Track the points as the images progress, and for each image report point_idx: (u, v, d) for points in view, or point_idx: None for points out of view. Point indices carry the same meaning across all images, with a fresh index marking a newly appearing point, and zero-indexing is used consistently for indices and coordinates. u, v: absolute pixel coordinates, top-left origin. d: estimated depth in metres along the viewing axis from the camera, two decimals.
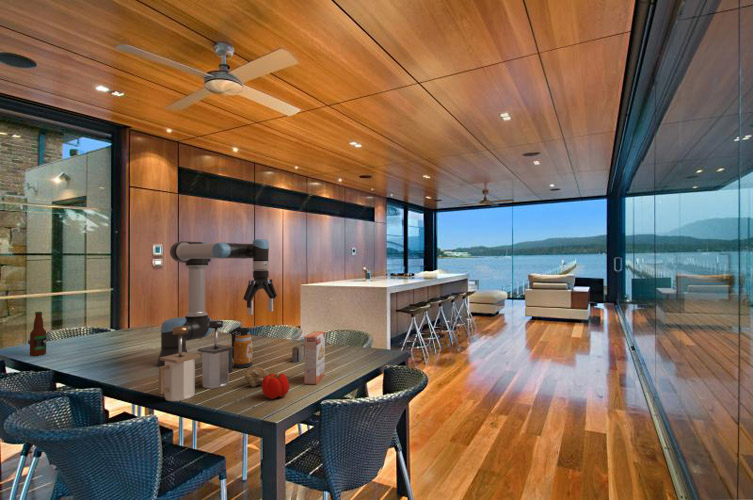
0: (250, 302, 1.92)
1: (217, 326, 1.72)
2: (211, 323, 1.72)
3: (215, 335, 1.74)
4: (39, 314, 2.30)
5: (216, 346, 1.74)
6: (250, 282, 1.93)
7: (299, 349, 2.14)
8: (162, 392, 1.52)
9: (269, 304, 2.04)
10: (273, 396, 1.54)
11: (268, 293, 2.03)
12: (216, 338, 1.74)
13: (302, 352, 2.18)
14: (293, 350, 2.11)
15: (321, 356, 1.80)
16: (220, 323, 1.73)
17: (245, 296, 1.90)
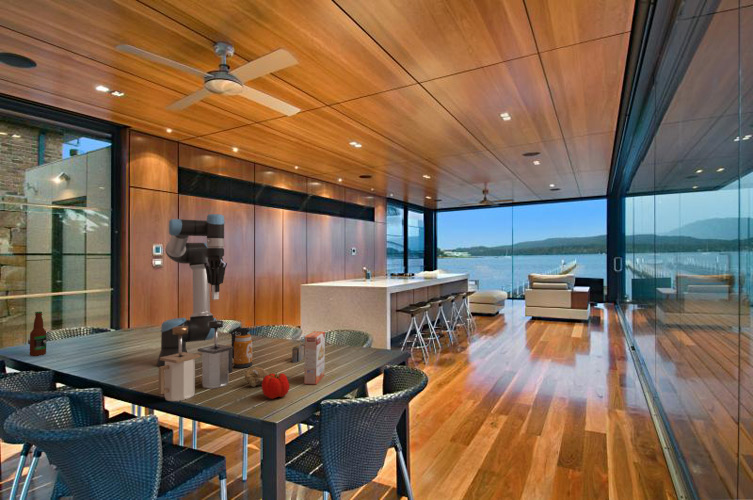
0: None
1: (217, 326, 1.72)
2: (211, 323, 1.72)
3: (215, 335, 1.74)
4: (39, 314, 2.30)
5: (216, 346, 1.74)
6: None
7: (299, 349, 2.14)
8: (162, 392, 1.52)
9: None
10: (273, 396, 1.54)
11: None
12: (216, 338, 1.74)
13: (302, 352, 2.17)
14: (293, 350, 2.11)
15: (321, 356, 1.80)
16: (220, 323, 1.73)
17: None
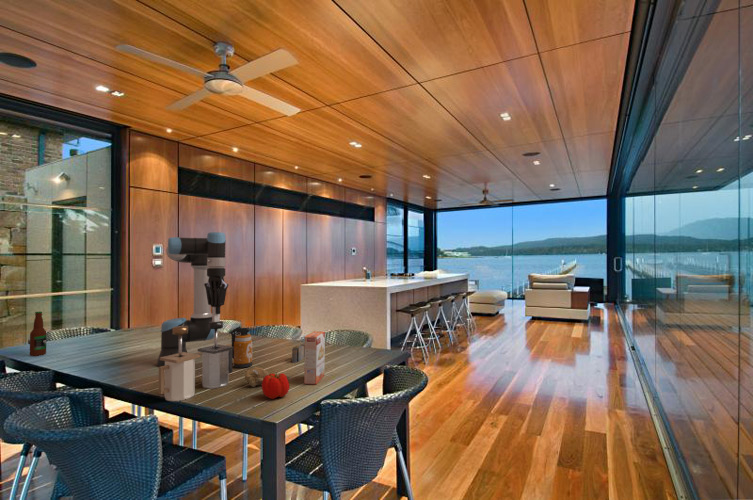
0: None
1: (217, 327, 1.72)
2: (211, 324, 1.72)
3: (215, 336, 1.73)
4: (39, 314, 2.30)
5: (216, 347, 1.74)
6: None
7: (299, 349, 2.14)
8: (162, 392, 1.52)
9: None
10: (273, 396, 1.54)
11: None
12: (216, 339, 1.74)
13: (302, 352, 2.17)
14: (293, 350, 2.11)
15: (321, 356, 1.80)
16: (220, 324, 1.73)
17: None
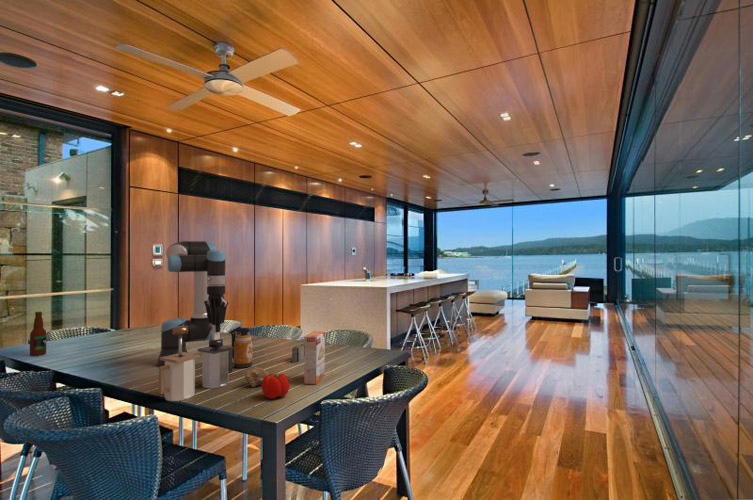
0: None
1: (217, 345, 1.72)
2: (211, 342, 1.71)
3: None
4: (39, 314, 2.30)
5: None
6: None
7: (299, 349, 2.14)
8: (162, 392, 1.52)
9: None
10: (273, 396, 1.54)
11: None
12: None
13: (302, 352, 2.17)
14: (293, 350, 2.11)
15: (321, 356, 1.80)
16: (220, 342, 1.73)
17: None
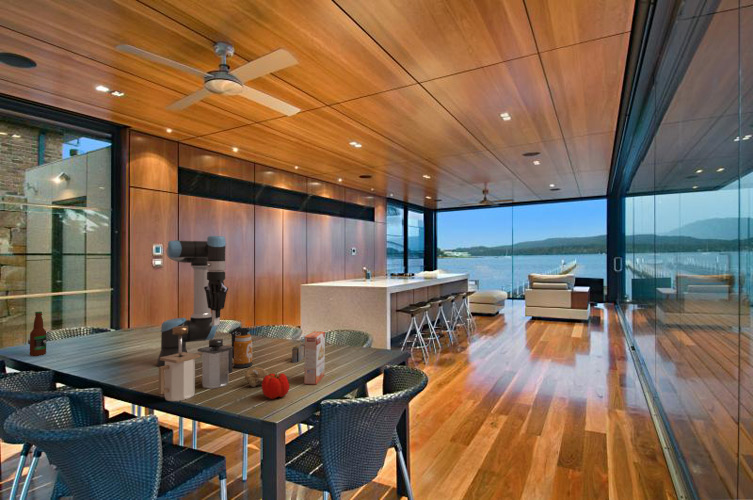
0: None
1: (217, 345, 1.72)
2: (211, 342, 1.71)
3: None
4: (39, 314, 2.30)
5: None
6: None
7: (299, 349, 2.14)
8: (162, 392, 1.52)
9: None
10: (273, 396, 1.54)
11: None
12: None
13: (302, 352, 2.17)
14: (293, 350, 2.11)
15: (321, 356, 1.80)
16: (220, 342, 1.73)
17: None
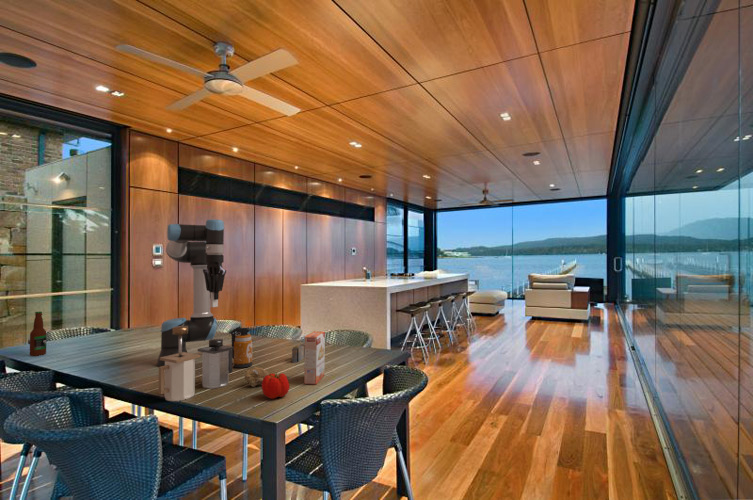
0: None
1: (217, 345, 1.72)
2: (211, 342, 1.71)
3: None
4: (39, 314, 2.30)
5: None
6: None
7: (299, 349, 2.14)
8: (162, 392, 1.52)
9: None
10: (273, 396, 1.54)
11: None
12: None
13: (302, 352, 2.17)
14: (293, 350, 2.11)
15: (321, 356, 1.80)
16: (220, 342, 1.73)
17: None
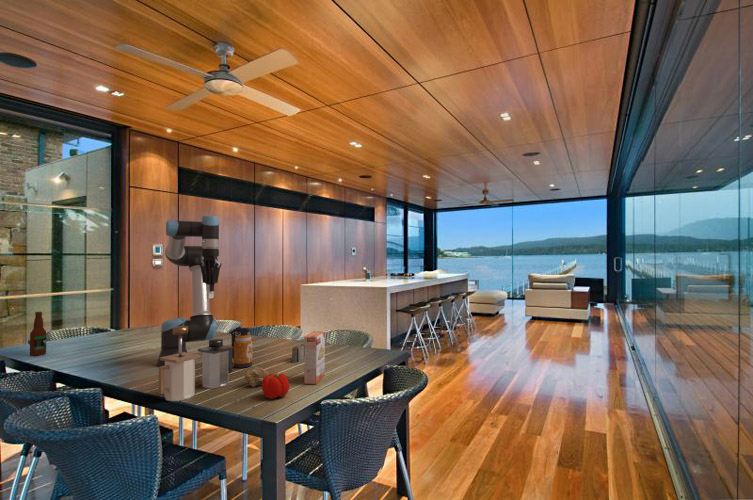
0: None
1: (217, 345, 1.72)
2: (211, 342, 1.71)
3: None
4: (39, 314, 2.30)
5: None
6: None
7: (299, 349, 2.14)
8: (162, 392, 1.52)
9: None
10: (273, 396, 1.54)
11: None
12: None
13: (302, 352, 2.17)
14: (293, 350, 2.11)
15: (321, 356, 1.80)
16: (220, 342, 1.73)
17: None
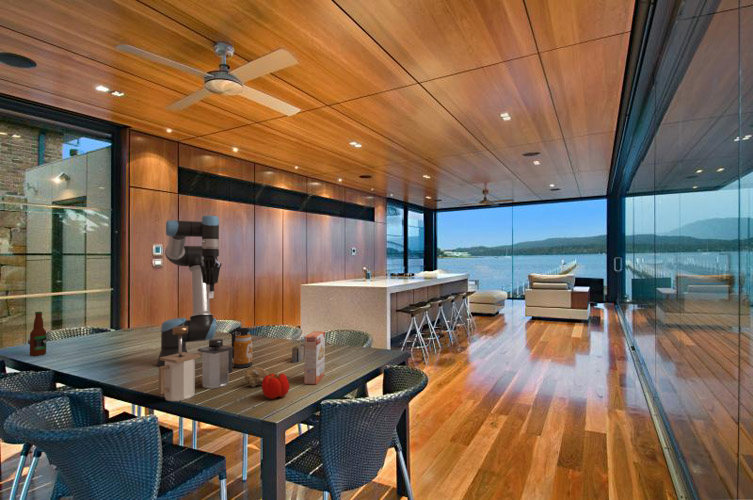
0: None
1: (217, 345, 1.72)
2: (211, 342, 1.71)
3: None
4: (39, 314, 2.30)
5: None
6: None
7: (299, 349, 2.14)
8: (162, 392, 1.52)
9: None
10: (273, 396, 1.54)
11: None
12: None
13: (302, 352, 2.17)
14: (293, 350, 2.11)
15: (321, 356, 1.80)
16: (220, 342, 1.73)
17: None
